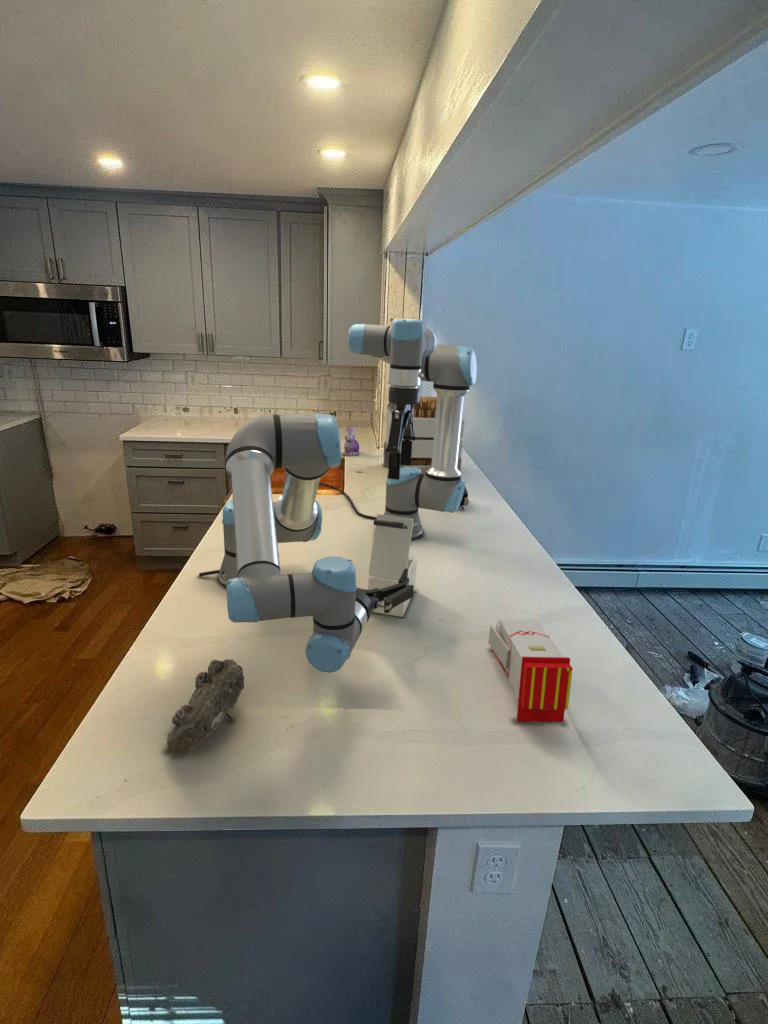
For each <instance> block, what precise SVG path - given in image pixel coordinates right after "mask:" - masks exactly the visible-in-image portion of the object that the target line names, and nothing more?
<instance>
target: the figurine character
mask: <svg viewBox="0 0 768 1024" xmlns="http://www.w3.org/2000/svg"><path fill="white" fill-rule="evenodd" d="M469 502H470V501H469V492H468V490H467V487H466V486H465V489H464V493H463V497H462V500H461V503H460V505H459V508H461V510H462V511H464V510H465V507H468V506H469Z"/></svg>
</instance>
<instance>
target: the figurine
mask: <svg viewBox="0 0 768 1024" xmlns="http://www.w3.org/2000/svg"><path fill="white" fill-rule="evenodd" d="M354 431H355V425H352V426H351V427H349V426H346V427H345V434H344V440H345V442H344V443H343V444H344V445H343V448H344V451H343V454H344V456H356V455H359V453H360V444H359V442H358V441H357V440H356V435H355V433H354Z"/></svg>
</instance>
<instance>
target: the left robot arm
mask: <svg viewBox="0 0 768 1024" xmlns="http://www.w3.org/2000/svg"><path fill="white" fill-rule="evenodd" d="M341 447H342V446H341V437H340V430H339V424H338V420H337V418H336V417H335V415H333V414H324V413H320V412H319V413H296V414H295V413H294V414H293V413H289V414H285V413H283V414H272V413H269V414H261V415H257V416H255V417H253V418H251V419H249V420H248V421H246V422H245V423H244V424H242V426H241V427H239V428H238V430H237V431H236V432H235V433H234V435H233V436H232V438H231V440H230V442H229V445H228V446H227V449H226V452H225V453H226V454H225V472H226V475H227V476H228V477H229V478H230V479H231V489H232V490H231V491H232V500H230V501H229V502H226V504H225V505H224V506H223V508H222V519H221V523H222V527H223V528H222V529H223V547H224V548H223V549H224V555H223V559H222V562H221V565H220V568H219V569H216V570H210V571H204V572H199V573H198V576H199V577H205V576H211V575H218V577H219V579H218V580H219V581H220V583H221V585H224V586H225V587H226V607H227V618H228V619H229V621H230V622H232V623H234V624H235V623H237V624H238V623H258V622H263V621H274V620H281V619H292V618H293V619H294V618H304V617H306V618H307V617H312V635H311V636H310V637H309V639H308V641H307V643H306V646H305V651H304V653H305V658H306V660H307V662H308V663H309V665H310V666H311V667H313V668H314V669H315V670H317V671H319V672H323V673H328V674H330V673H331V674H332V673H335V672H337V671H339V670H340V669H341V668H343V667H344V665H345V663H346V662H347V661H348V660H349V659H350V657H351V653H352V652H353V650H354V648H355V646H356V644H357V642H358V640H359V638H360V636H361V634H362V633H363V631H364V629H365V628H366V626H367V624H368V622H369V620H370V618H371V617H372V614H373V613H374V612H373V610H375V609H376V608H382V609H384V612H385V613H389V612H390V611H391V610H392V608H394V607H396V606H398V605H399V604H401V603H403V602H405V601H407V600H408V599H410V598H411V599H412V598H413V597H414V593H415V590H414V586H413V585H409V578H408V569H406V568H405V569H404V571H403V573H402V575H401V577H400V579H399V583H398V584H395V585H392V586H389V587H385V588H382V589H379V588H375V589H372V590H368V588H366V589H365V588H360V587H358V586H357V572H356V570H357V569H356V567H355V565H354V563H353V562H352V559H347V558H345V557H341V556H325V557H324V558H319V559H317V560H316V561H315V562H314V564H313V567H312V570H311V572H302V573H301V572H300V573H298V572H297V573H287V574H282V572H281V564H280V563H281V561H280V555H279V554H280V553H279V545H278V544H285V543H307V542H311V541H312V542H313V541H316V540H317V539H318V538H319V537H320V534H321V531H322V524H323V513H322V507H321V504H320V503H319V502H318V501H317V500H316V497H317V494H318V490H319V485H320V484H319V482H320V481H321V478H323V476H325V475H326V474H327V473H328V472H329V470H330V468H331V469H334V468H337V467H339V466H341V463H342V449H341ZM274 469H277V470H278V469H283V470H284V471H285V472H284V480H283V488H282V494H281V496H280V497H279V498H278V500H277V501H274V500H273V491H272V483H271V476H272V474H273V473H274ZM320 483H321V482H320ZM374 594H375V595H374ZM411 599H410V600H411Z"/></svg>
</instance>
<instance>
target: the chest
mask: <svg viewBox="0 0 768 1024" xmlns="http://www.w3.org/2000/svg"><path fill="white" fill-rule="evenodd" d="M407 569H408V578H409V585H413V586H414V591H415V587H416V573H417V558H410V557H409V558H408V565H407ZM367 583H368V585H367V586H368V588H367V589H368V590H372V589H375V588H379V589H382V588H385V587H389V586H392V585H395V584H398V583H399V580H394V579H388V578H381V577H375V576H369V575H368V582H367ZM374 595H375V594H374ZM411 599H412V598H410V599H408V600H407V601H405V602H403V603H401V604H399V605H398V606H396V607H394V608H392V610H391V611H390V612H389V613H385V612H384V609H382V608H376V609H375V610H373V612H372V613H377V614H383V615H388V616H395V617H402V618H403V617H404V615H405V612H406V610H407V608H408V607H409V604H410V602H411Z"/></svg>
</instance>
